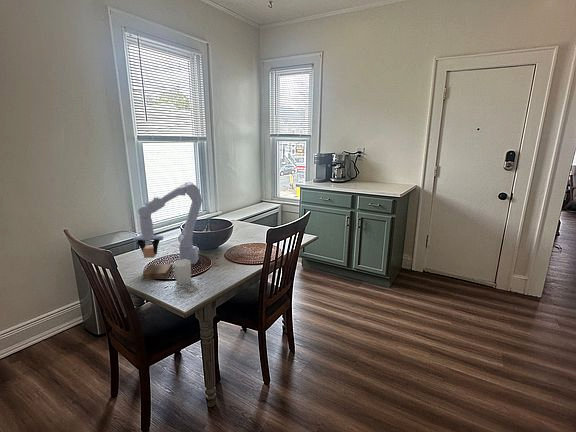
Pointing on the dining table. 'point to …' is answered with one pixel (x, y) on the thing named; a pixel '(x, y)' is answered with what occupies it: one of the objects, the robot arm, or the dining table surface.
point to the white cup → (182, 271)
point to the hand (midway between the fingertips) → (150, 253)
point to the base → (158, 271)
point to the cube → (149, 251)
